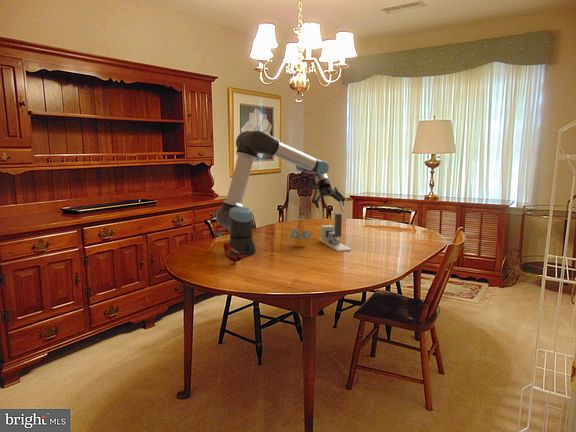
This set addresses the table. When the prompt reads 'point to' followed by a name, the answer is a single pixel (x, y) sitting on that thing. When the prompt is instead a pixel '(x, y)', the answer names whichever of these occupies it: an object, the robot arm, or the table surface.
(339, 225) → the grey upright bracket
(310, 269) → the table surface
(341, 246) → the base plate
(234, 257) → the decorative bird figurine
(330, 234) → the outer sleeve
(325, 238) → the socket block
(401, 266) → the table surface
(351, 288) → the table surface
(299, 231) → the orange grey upright piece
